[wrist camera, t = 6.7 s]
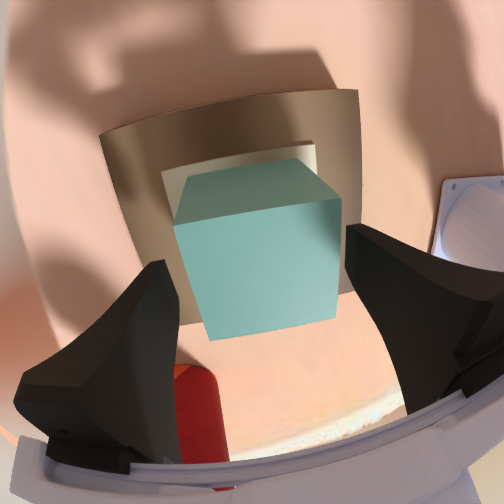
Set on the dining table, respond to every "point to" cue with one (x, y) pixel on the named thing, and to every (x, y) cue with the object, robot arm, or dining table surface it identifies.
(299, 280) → the teal block
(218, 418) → the paper cup
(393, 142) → the dining table surface
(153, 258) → the walnut base
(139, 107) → the dining table surface
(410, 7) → the dining table surface
